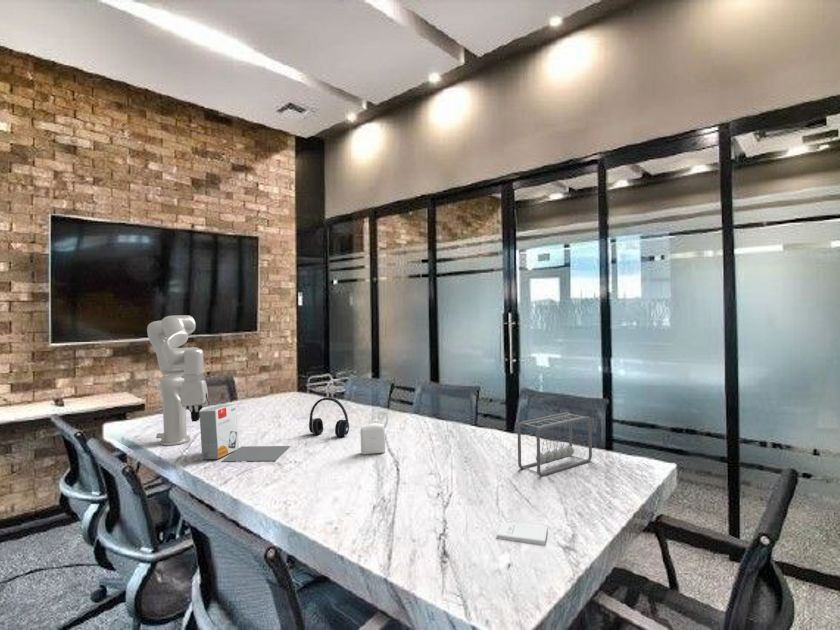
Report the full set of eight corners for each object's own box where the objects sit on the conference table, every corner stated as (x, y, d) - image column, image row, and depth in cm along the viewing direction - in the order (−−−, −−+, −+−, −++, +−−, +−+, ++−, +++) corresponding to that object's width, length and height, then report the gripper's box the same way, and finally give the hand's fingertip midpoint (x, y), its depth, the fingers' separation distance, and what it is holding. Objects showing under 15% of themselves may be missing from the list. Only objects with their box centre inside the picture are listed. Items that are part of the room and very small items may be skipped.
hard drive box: (218, 459, 192) (214, 411, 192) (201, 459, 194) (197, 411, 194) (240, 448, 207) (236, 403, 207) (224, 448, 209) (221, 404, 209)
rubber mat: (221, 462, 191) (221, 461, 191) (241, 447, 211) (241, 446, 211) (275, 461, 190) (275, 460, 190) (290, 446, 210) (290, 445, 210)
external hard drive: (545, 547, 120) (496, 540, 124) (547, 532, 127) (501, 526, 131) (545, 541, 120) (496, 534, 124) (547, 526, 127) (501, 520, 131)
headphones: (307, 436, 227) (306, 398, 227) (314, 432, 234) (313, 395, 234) (344, 439, 221) (343, 400, 221) (350, 435, 228) (350, 397, 227)
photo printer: (361, 455, 196) (360, 425, 196) (360, 452, 200) (360, 423, 200) (385, 453, 198) (385, 424, 197) (384, 450, 202) (384, 421, 202)
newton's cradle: (538, 478, 166) (538, 428, 166) (517, 469, 175) (516, 422, 175) (592, 461, 183) (592, 415, 182) (570, 454, 192) (570, 411, 191)
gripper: (172, 379, 197) (173, 423, 197) (207, 378, 196) (208, 422, 197) (181, 376, 204) (182, 418, 205) (215, 376, 204) (216, 418, 204)
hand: (195, 420), depth 201 cm, fingers closed
